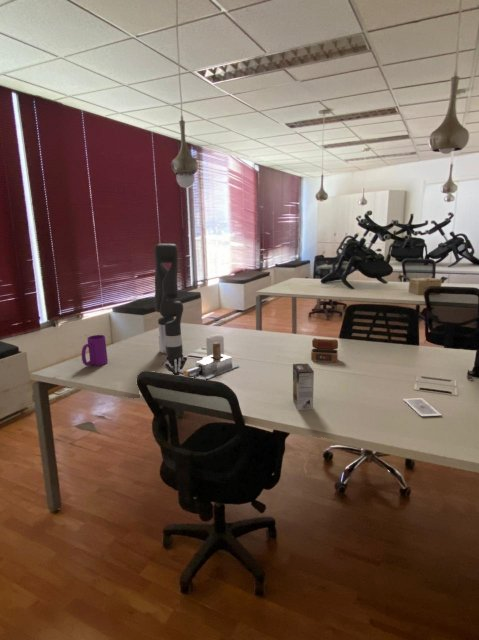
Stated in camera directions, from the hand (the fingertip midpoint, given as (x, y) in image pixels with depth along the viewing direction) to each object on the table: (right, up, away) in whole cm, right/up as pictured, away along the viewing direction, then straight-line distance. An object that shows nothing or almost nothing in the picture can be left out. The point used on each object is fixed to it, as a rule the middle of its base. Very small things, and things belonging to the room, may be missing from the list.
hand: (176, 379), depth 183 cm
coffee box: (+55, -7, -27) cm, 62 cm away
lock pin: (+8, +2, +8) cm, 12 cm away
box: (+75, +6, +26) cm, 80 cm away
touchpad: (+100, -7, -32) cm, 106 cm away
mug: (-48, +3, +27) cm, 56 cm away
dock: (+15, +2, +15) cm, 21 cm away
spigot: (+18, +4, +19) cm, 27 cm away
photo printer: (+16, +7, +37) cm, 41 cm away
